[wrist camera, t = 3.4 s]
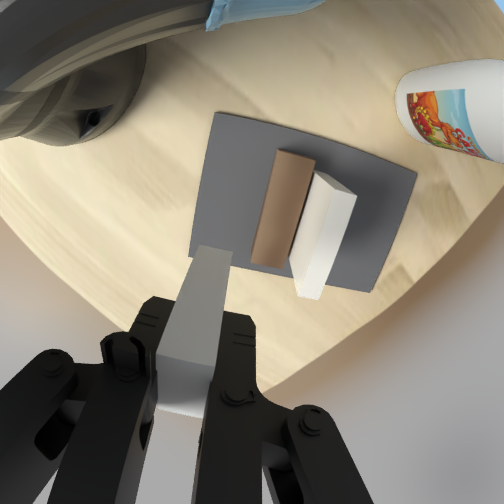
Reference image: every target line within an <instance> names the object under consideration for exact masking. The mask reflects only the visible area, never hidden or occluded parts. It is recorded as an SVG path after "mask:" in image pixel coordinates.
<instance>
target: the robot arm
mask: <svg viewBox="0 0 504 504" xmlns="http://www.w3.org/2000/svg"><path fill="white" fill-rule="evenodd" d="M325 1H326V0H0V140H4V139H8V138H12V137H17V136H21V137H24V138H27V139H31V140H34V141H37V142H40V143H44V144H47V145H51V146H68V145H73V144H78V143H82V142H86V141H88V140H91V139H93V138H95V137H97V136H98V135H100V134H102V133H103V132H104V131H106V130H107V129H108V128H110V127H111V126H112V125H113V124H114V123H115V122H116V121H117V120H118V119H119V118H120V116H121V115H122V114H123V113H124V111H125V110H126V109H127V107H128V106H129V104H130V103H131V101H132V99H133V97H134V95H135V93H136V91H137V89H138V87H139V84H140V81H141V79H142V75H143V71H144V66H145V58H146V49H145V43H148V42H151V41H154V40H158V39H161V38H165V37H168V36H172V35H176V34H180V33H184V32H188V31H193V30H197V29H202V28H205V31H215V30H217V29H219V28H220V27H221V25H224V24H229V23H234V22H240V21H246V20H252V19H259V18H267V17H277V16H288V15H295V14H299V13H303V12H306V11H308V10H311V9H313V8H315V7H317V6H319V5H321V4H322V3H324V2H325ZM231 259H232V252H231V251H226V250H222V249H217V248H212V247H208V246H203V245H199V246H198V249H197V251H196V253H195V256H194V258H193V260H192V263H191V265H190V267H189V270H188V272H187V275H186V277H185V280H184V282H183V284H182V287H181V289H180V292H179V294H178V297H177V299H176V301H172V300H168V299H164V298H160V297H156V296H153V297H152V298H150V299H149V300H147V301H146V302H144V303H143V305H142V307H141V309H140V311H139V314H138V315H137V317H136V318H135V321H134V322H133V324H132V326H131V328H130V330H129V332H124V331H122V332H116V333H112V334H110V335H108V336H106V337H105V338H104V339H103V340H102V341H101V342H100V346H101V352H102V357H103V362H104V363H100V364H82V363H74V361H73V358H72V357H71V356H70V355H69V354H68V353H67V352H64V351H62V350H60V349H49V350H45V351H43V352H41V353H40V354H38V355H37V356H36V357H35V358H34V359H33V360H31V361H30V362H29V363H28V364H27V365H26V366H25V367H24V368H23V369H22V370H21V371H20V372H19V373H18V374H16V375H15V377H13V378H12V379H11V380H10V381H9V382H8V383H7V384H6V385H5V386H4V387H3V388H2V389H1V390H0V504H33V502H34V501H35V499H36V498H37V496H38V495H39V494H40V493H41V491H42V490H43V488H44V487H45V486H46V484H47V483H48V481H49V480H50V479H51V477H52V476H53V475H54V473H55V472H56V471H57V469H58V468H59V469H58V471H57V475H56V477H55V480H54V483H53V486H52V489H51V492H50V495H49V498H48V502H47V504H135V501H136V496H137V492H138V487H139V483H140V478H141V474H142V469H143V464H144V461H145V456H146V452H147V448H148V444H149V440H150V436H151V432H152V428H153V424H154V411H155V407H156V404H157V408H158V409H162V410H166V411H170V412H174V413H179V414H183V415H188V416H193V417H198V418H203V422H202V428H201V433H200V437H199V442H198V443H199V446H198V454H197V461H196V468H195V477H194V484H193V492H192V500H191V504H262V468H263V472H264V475H265V478H266V481H267V485H268V488H269V491H270V494H271V497H272V500H273V503H274V504H374V503H373V501H372V499H371V497H370V495H369V493H368V490H367V488H366V487H365V484H364V482H363V480H362V478H361V476H360V474H359V472H358V470H357V468H356V466H355V463H354V461H353V459H352V457H351V455H350V453H349V451H348V449H347V447H346V445H345V443H344V441H343V439H342V437H341V434H340V432H339V430H338V428H337V426H336V424H335V422H334V420H333V419H332V417H331V416H330V414H329V413H328V412H326V411H325V410H324V409H322V408H320V407H318V406H315V405H301V406H298V407H295V408H294V409H293V410H290V409H288V408H285V407H282V406H280V405H277V404H274V403H273V402H271V401H269V400H268V399H266V398H265V397H264V396H263V395H262V394H261V392H260V391H259V389H258V387H257V384H256V348H255V347H256V339H255V338H256V326H255V324H254V322H253V320H252V319H251V317H250V316H249V315H243V314H238V313H233V312H228V311H223V310H224V304H225V297H226V290H227V284H228V278H229V271H230V265H231Z"/></svg>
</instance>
